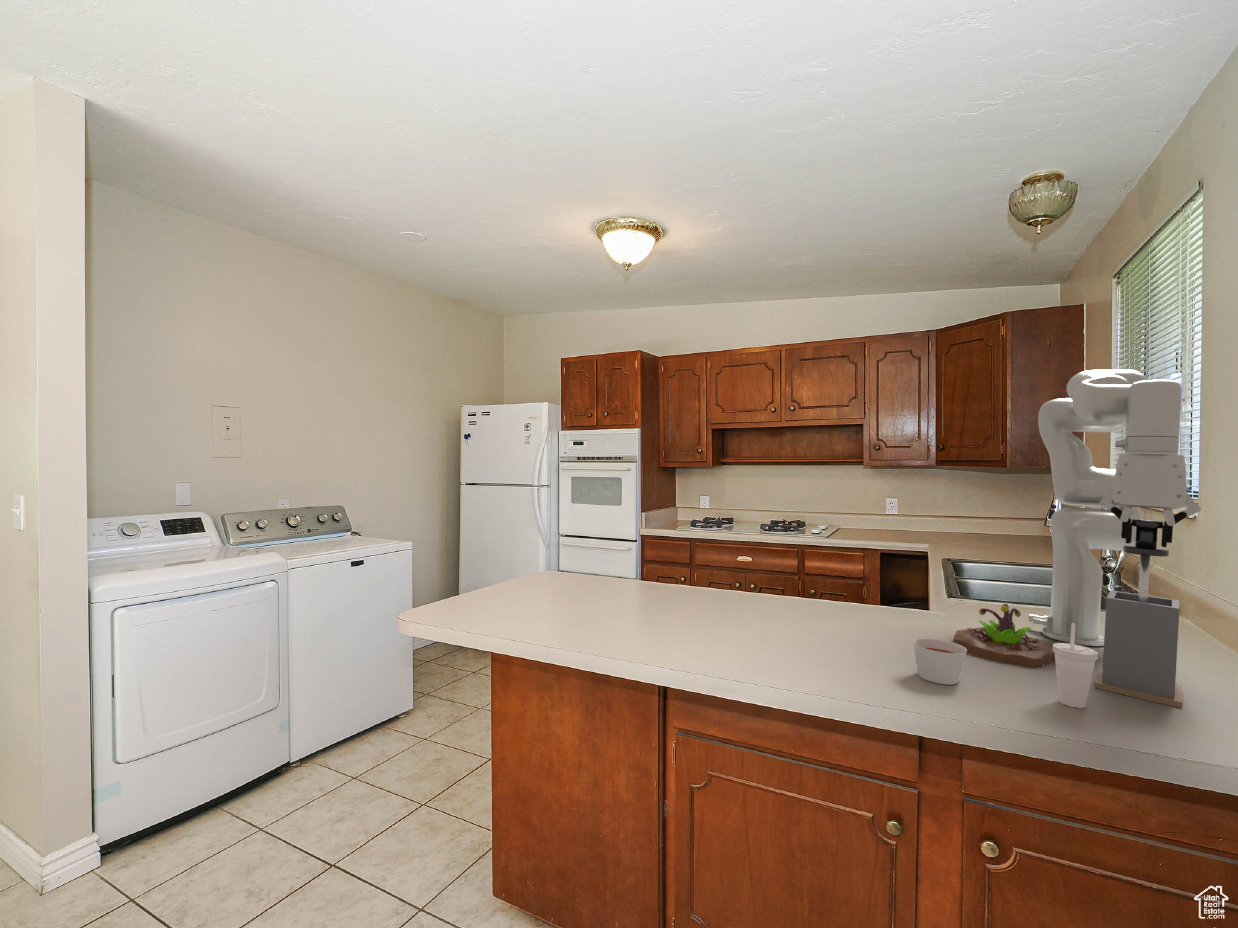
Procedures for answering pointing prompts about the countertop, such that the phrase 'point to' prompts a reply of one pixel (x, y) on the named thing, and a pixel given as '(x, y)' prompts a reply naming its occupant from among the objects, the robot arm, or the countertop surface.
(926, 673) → the candle
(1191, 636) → the countertop surface
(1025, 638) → the plant
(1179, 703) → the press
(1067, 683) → the smoothie
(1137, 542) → the plunger
